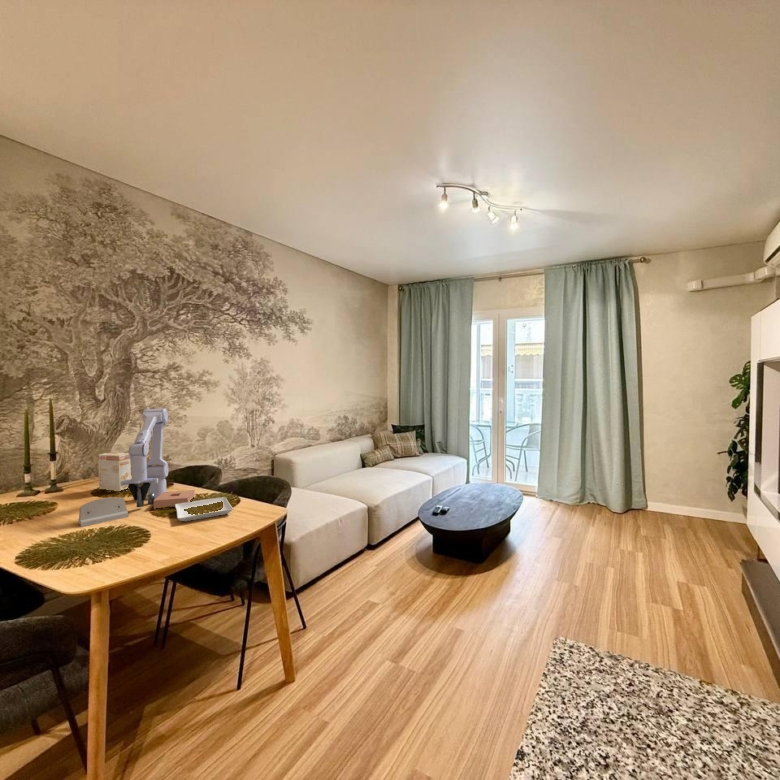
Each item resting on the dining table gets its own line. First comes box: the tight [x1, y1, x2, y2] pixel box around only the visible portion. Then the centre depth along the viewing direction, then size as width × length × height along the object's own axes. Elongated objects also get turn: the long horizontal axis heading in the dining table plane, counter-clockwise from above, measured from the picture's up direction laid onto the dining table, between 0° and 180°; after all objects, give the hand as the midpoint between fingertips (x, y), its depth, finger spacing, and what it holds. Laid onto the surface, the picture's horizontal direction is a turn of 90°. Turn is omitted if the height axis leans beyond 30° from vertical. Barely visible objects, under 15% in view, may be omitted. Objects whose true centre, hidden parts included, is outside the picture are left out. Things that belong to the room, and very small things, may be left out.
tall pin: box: [135, 485, 145, 508], centre depth 178 cm, size 3×3×9 cm
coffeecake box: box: [97, 452, 132, 491], centre depth 211 cm, size 15×7×20 cm, turn 72°
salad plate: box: [175, 496, 234, 522], centre depth 172 cm, size 21×21×3 cm
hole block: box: [153, 489, 196, 510], centre depth 186 cm, size 14×14×4 cm
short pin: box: [146, 493, 156, 505], centre depth 186 cm, size 3×3×4 cm
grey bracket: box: [78, 496, 129, 528], centre depth 165 cm, size 17×5×10 cm, turn 135°
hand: (140, 499), depth 178 cm, fingers closed on tall pin, 3 cm apart
